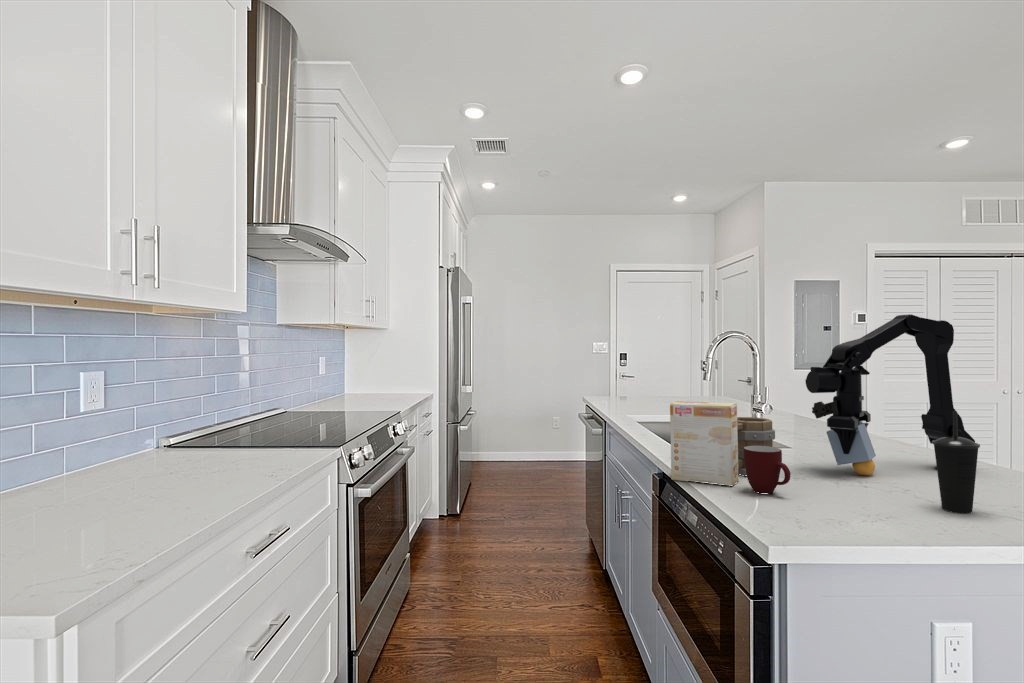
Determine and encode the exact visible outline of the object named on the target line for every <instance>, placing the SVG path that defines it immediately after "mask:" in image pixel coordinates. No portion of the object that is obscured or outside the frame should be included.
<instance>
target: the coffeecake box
mask: <svg viewBox="0 0 1024 683" xmlns="http://www.w3.org/2000/svg"><path fill="white" fill-rule="evenodd" d="M737 417H738V404H737V403H736V402H733V403H732V402H705V401H700V402H699V401H682V400H681V401H679V400H678V401H675V402H671V403H670V404H669V420H670V423H669V424H670V425H669V426H670V427H669V428H670V429H669V430H670V469H671V470H670V471H671V472H670V473H671V474H670V475H671V476H670V478H671V480H672V481H679V482H688V481H698V482H708V483H717V484H724V485H734V484H735V483H736V482H737V481H738V482H739V475H738V432H737ZM738 482H737V483H738ZM737 483H736V484H737ZM736 484H735V485H736ZM735 485H734V486H735Z"/></svg>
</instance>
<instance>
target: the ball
mask: <svg viewBox="0 0 1024 683" xmlns="http://www.w3.org/2000/svg"><path fill="white" fill-rule="evenodd" d="M851 466H852V468H853V471H854V472H855V473H856V474H858V475H860V476H870V475H872V473H873V472H875V469H876V465H875V462H874V460H873V458H872V459H871V460H870V461H863V462H856V463H851Z"/></svg>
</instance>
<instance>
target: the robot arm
mask: <svg viewBox="0 0 1024 683" xmlns="http://www.w3.org/2000/svg"><path fill="white" fill-rule="evenodd" d="M904 334H906V335H909V336H912V337H914V338H915V343H916V346H917V347H918V348H919V350H920V351H921V352H922V354H923V355H924V360H925V361H924V362H925V363H924V364H925V372H926V380H927V389H928V390H927V391H928V400H929V409H928V410H927V412H926V413H922V414H921V416H920V417H921V421H922V426H921V429H922V430H924V434H925V435H926V436H927V438H928V441H929V443H930V444H931V445H933V444H932V441H933V440H937V439H939V438H942V437H949V436H953V411H957V410H956V409H955V407H954V402H953V400H954V399H953V393H952V391H953V390H952V382H951V373H950V372H951V371H950V364H949V352H950V351H951V348H952V346H953V344H954V337H955V330H954V325H953V324H951V323H950V322H949V321H946V320H942V319H941V320H936V319H930V318H925V317H920V316H917V315H914V314H912V313H911V314H899V315H896V316H894V317H893V319H891V320H889V321H887V322H885V323H884V324H883V325H881V326H879V327H877V328H875V329H874V330H871V331H870V332H869V333H867V334H865V335H863V336H861V337H859V338H856V339H853V340H848V341H845V342H842V343H840V344H837V345H835V346H834V347H833V348H832V349H831V354H830V355H829V357H828V359H827V360H826V362H825V363H824V365H823V366H822V367H821V366H811V367H810V371H809V372H808V373H807V375H806V378H805V381H804V382H805V386H806V388H807V391H808V392H809V393H812V394H823V393H825V394H830V393H836V395H834V396H833V398H832V400H833V401H830V402H827V403H824V402H823V401H817V402H814V403H813V407H812V408H811V410H812V411H811V414H814V416H815V418H816V419H821V418H822V417H826V416H829V417H828V418H827V419H826V427H828V428H829V430H833V431H834V432H836V433H837V435H838V437H839V440H840V443H841V447H842V450H843V453H844V454H849V452H850V450H851V447H852V445H853V442H854V440H855V437H856V434H857V432H858V429H859V428H857V427H858V424H860V423H863V421H864V423H865V426H866V429H867V428H868V426H869V425H870V424H869V423H870V422H872V421H871V419H872V418H871V413H870V412H869V411H867V410H863V401H864V400H865V397H864V395H863V392H862V390H863V389H862V376H865V375H866V376H868V375H870V371H869V370H867V369H865V367H864V366H863V364H865V363H866V362H867V361H868V360H870V358H871V357H872V355H873V353H874V352H875V351H876V350H879V348H882V347H883V346H885V345H886V344H889V343H890V342H892V341H894V340H895V339H897V338H898V337H900V336H901V335H904ZM830 415H831V416H830ZM957 433H958V437H962V438H966V439H969V440H971V441H973V442H975V443H976V440H975V439H974V438H973V437H972V436H971V435H970V434H969V432H967V430H965V426H964V423H963V419H962V417H961V415H960V414H959V413H958V412H957ZM934 469H935V470H937V465H936V466H934Z"/></svg>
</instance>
